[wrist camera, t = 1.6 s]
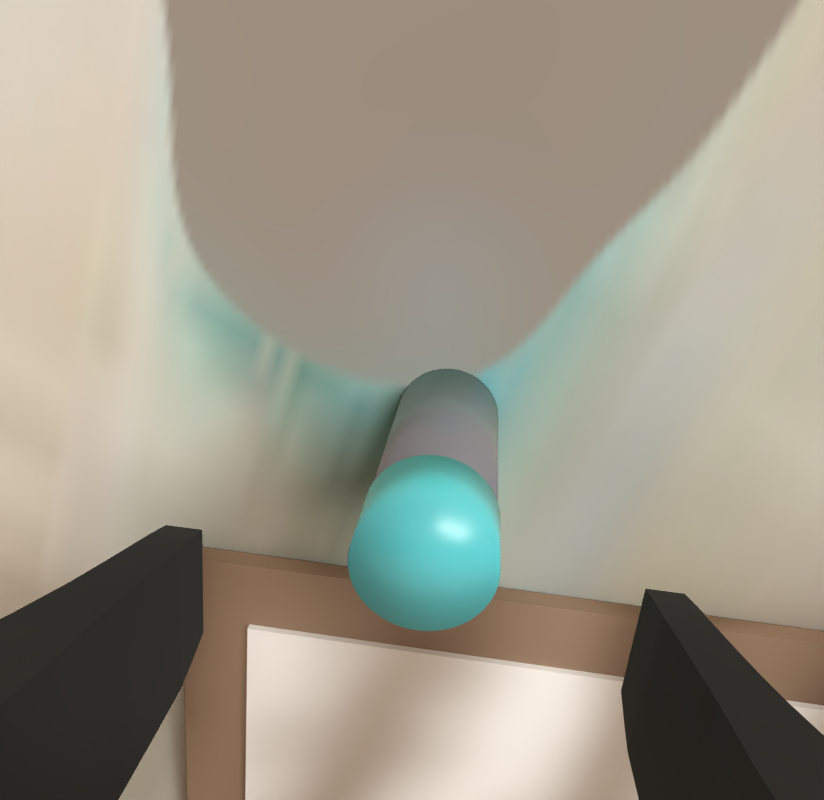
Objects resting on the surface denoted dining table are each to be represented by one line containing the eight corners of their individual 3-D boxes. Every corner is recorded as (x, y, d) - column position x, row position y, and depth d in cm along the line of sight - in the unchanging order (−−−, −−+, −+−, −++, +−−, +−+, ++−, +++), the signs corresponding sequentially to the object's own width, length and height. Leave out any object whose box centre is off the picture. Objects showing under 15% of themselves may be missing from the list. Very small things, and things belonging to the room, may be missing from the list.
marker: (506, 373, 20) (510, 511, 13) (492, 469, 21) (490, 640, 14) (400, 361, 20) (352, 490, 13) (392, 456, 21) (343, 620, 14)
